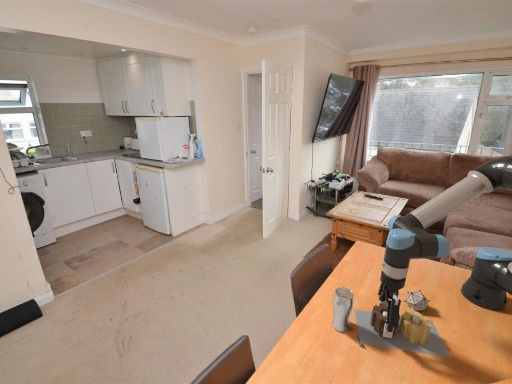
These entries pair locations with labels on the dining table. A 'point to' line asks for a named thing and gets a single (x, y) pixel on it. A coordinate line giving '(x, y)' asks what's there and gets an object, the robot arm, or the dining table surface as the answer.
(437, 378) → the dining table surface
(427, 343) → the gear board
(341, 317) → the beer glass
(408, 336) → the gear
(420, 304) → the game die
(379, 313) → the walnut gear
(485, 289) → the robot arm
